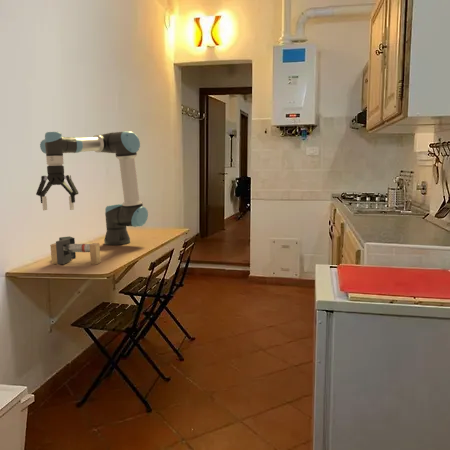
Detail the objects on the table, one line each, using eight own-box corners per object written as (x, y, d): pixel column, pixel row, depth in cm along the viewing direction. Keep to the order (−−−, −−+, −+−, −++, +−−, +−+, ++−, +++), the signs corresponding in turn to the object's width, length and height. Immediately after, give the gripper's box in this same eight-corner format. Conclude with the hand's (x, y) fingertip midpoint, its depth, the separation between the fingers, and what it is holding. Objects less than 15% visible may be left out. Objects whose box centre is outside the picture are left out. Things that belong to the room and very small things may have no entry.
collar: (57, 264, 223) (55, 241, 222) (65, 260, 231) (64, 238, 230) (63, 264, 223) (61, 241, 221) (71, 260, 230) (69, 238, 229)
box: (76, 258, 239) (74, 237, 238) (64, 259, 236) (63, 239, 234) (71, 256, 245) (69, 236, 244) (60, 257, 242) (58, 237, 241)
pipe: (51, 264, 226) (50, 244, 225) (56, 262, 230) (54, 243, 229) (96, 264, 222) (95, 244, 221) (100, 262, 226) (99, 243, 225)
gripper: (26, 165, 220) (29, 210, 223) (76, 164, 217) (79, 210, 220) (34, 165, 228) (38, 209, 230) (83, 164, 224) (86, 208, 227)
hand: (58, 209), depth 225 cm, fingers open, 13 cm apart
